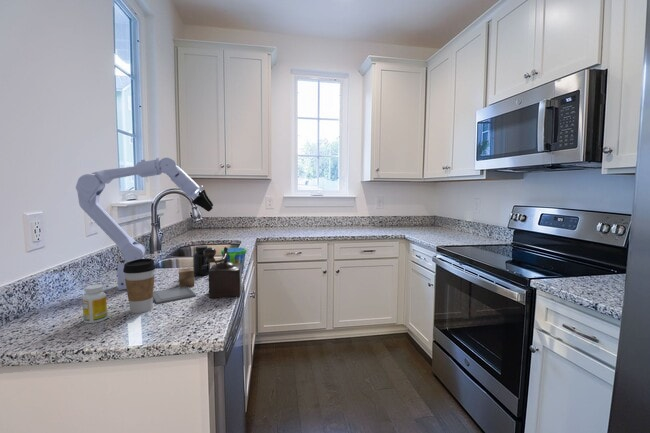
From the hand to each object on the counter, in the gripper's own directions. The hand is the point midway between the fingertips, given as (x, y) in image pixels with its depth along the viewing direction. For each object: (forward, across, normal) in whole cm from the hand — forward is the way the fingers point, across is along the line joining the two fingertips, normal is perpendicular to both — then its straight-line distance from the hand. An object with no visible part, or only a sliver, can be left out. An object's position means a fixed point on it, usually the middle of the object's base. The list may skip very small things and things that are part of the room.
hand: (211, 208), depth 129 cm
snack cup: (+28, +3, +13) cm, 31 cm away
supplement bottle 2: (+19, +4, +23) cm, 30 cm away
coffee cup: (+6, -33, +32) cm, 46 cm away
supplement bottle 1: (-2, -38, +39) cm, 54 cm away
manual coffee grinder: (+22, -27, +14) cm, 38 cm away
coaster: (+11, -22, +27) cm, 37 cm away
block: (+14, -11, +26) cm, 31 cm away
